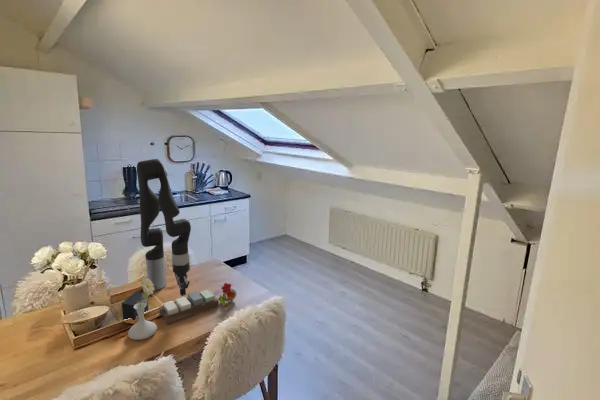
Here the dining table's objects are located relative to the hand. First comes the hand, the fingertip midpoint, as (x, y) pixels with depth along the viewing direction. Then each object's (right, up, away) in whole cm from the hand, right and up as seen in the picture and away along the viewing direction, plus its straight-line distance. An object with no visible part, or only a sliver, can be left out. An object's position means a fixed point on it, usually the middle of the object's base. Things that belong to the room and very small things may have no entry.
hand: (183, 294), depth 160 cm
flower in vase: (-12, -13, -14) cm, 22 cm away
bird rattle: (+19, -7, +12) cm, 23 cm away
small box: (-21, -10, -3) cm, 23 cm away
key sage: (+9, -6, +9) cm, 14 cm away
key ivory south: (-5, -8, -2) cm, 10 cm away
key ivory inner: (0, -8, +1) cm, 8 cm away
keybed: (+2, -9, +4) cm, 10 cm away
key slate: (+5, -6, +5) cm, 9 cm away
